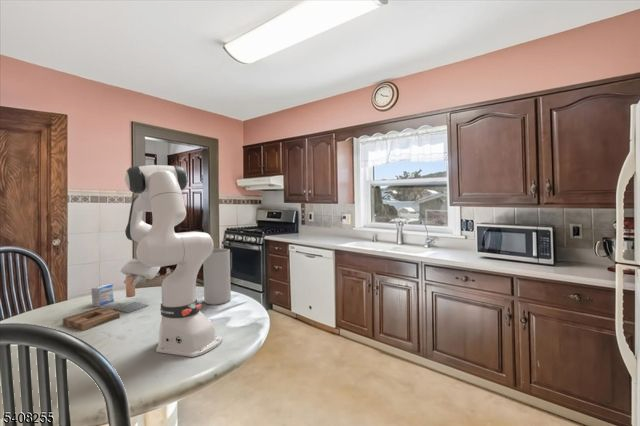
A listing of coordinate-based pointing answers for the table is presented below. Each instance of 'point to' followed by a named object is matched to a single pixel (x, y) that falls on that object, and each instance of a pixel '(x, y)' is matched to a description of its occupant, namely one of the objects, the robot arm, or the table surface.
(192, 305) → the robot arm
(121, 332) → the table surface
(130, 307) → the mat
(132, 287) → the peg
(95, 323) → the pocket block
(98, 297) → the medicine box
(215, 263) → the cylinder vase
